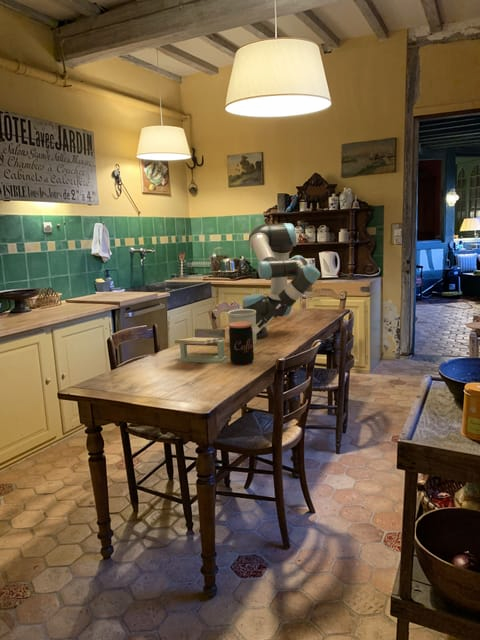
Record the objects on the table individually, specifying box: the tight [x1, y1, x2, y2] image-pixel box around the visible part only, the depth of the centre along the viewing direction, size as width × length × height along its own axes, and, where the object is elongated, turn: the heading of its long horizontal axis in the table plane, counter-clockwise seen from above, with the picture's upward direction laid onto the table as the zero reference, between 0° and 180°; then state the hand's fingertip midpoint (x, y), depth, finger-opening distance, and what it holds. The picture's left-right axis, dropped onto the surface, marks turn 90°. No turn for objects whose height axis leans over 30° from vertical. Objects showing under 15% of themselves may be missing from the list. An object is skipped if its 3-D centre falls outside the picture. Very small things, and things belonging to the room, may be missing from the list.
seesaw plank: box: [174, 328, 226, 347], centre depth 231 cm, size 27×16×7 cm, turn 162°
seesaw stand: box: [177, 340, 228, 364], centre depth 233 cm, size 8×22×10 cm, turn 72°
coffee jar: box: [228, 321, 255, 366], centre depth 225 cm, size 11×11×18 cm
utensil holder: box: [227, 308, 257, 346], centre depth 258 cm, size 15×15×18 cm
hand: (258, 328), depth 220 cm, fingers open, 13 cm apart
